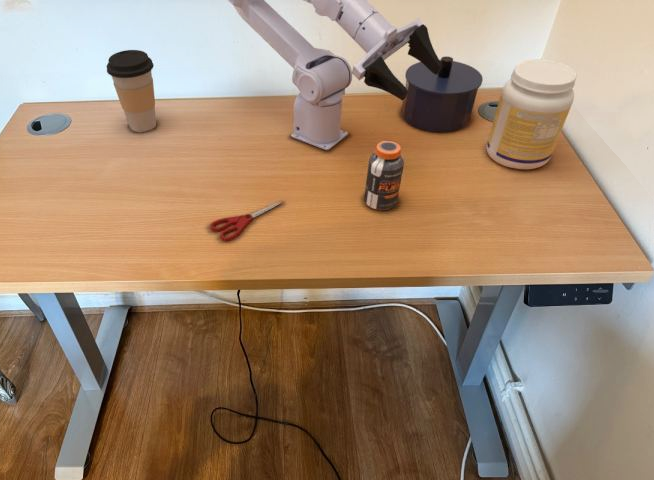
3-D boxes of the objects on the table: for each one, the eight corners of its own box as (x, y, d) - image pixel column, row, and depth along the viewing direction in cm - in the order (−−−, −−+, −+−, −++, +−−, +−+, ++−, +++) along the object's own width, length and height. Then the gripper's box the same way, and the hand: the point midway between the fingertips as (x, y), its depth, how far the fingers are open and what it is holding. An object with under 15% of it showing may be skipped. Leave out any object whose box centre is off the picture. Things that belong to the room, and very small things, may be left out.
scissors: (208, 227, 93) (207, 223, 93) (271, 197, 99) (271, 193, 98) (225, 244, 90) (224, 239, 90) (289, 211, 96) (289, 207, 95)
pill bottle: (376, 215, 94) (384, 159, 86) (357, 197, 98) (363, 142, 90) (403, 204, 96) (414, 149, 88) (384, 188, 100) (392, 133, 91)
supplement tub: (563, 164, 103) (599, 79, 91) (510, 177, 101) (540, 92, 89) (522, 133, 111) (550, 52, 99) (472, 145, 109) (494, 63, 97)
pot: (394, 125, 115) (400, 87, 109) (410, 95, 124) (416, 58, 118) (463, 138, 111) (473, 99, 105) (474, 105, 120) (484, 68, 114)
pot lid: (396, 91, 109) (400, 68, 106) (414, 60, 119) (417, 39, 116) (475, 103, 105) (481, 81, 101) (486, 70, 114) (492, 49, 111)
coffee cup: (143, 111, 123) (128, 44, 112) (173, 122, 119) (161, 54, 108) (112, 128, 117) (94, 61, 107) (142, 141, 113) (127, 72, 103)
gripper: (338, 34, 85) (395, 93, 83) (405, -14, 87) (462, 42, 85) (333, 63, 92) (385, 118, 90) (395, 17, 94) (448, 70, 92)
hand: (422, 83), depth 88 cm, fingers open, 7 cm apart
